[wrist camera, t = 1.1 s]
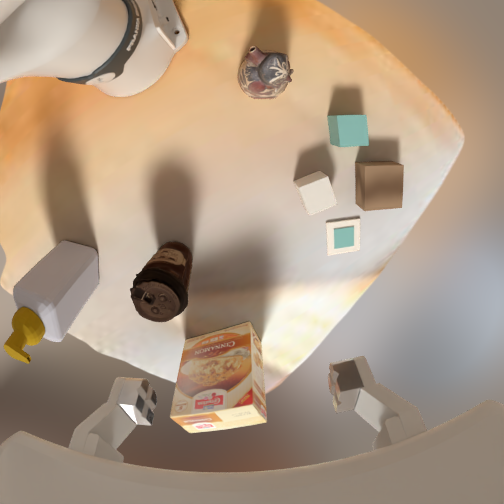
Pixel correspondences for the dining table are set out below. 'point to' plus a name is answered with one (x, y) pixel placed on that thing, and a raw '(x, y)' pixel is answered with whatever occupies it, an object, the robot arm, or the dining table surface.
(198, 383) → the coffeecake box
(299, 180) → the cream cube
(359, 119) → the teal cube
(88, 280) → the soap bottle
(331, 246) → the tile
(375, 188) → the walnut base
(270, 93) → the figurine
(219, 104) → the dining table surface
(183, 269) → the coffee cup
